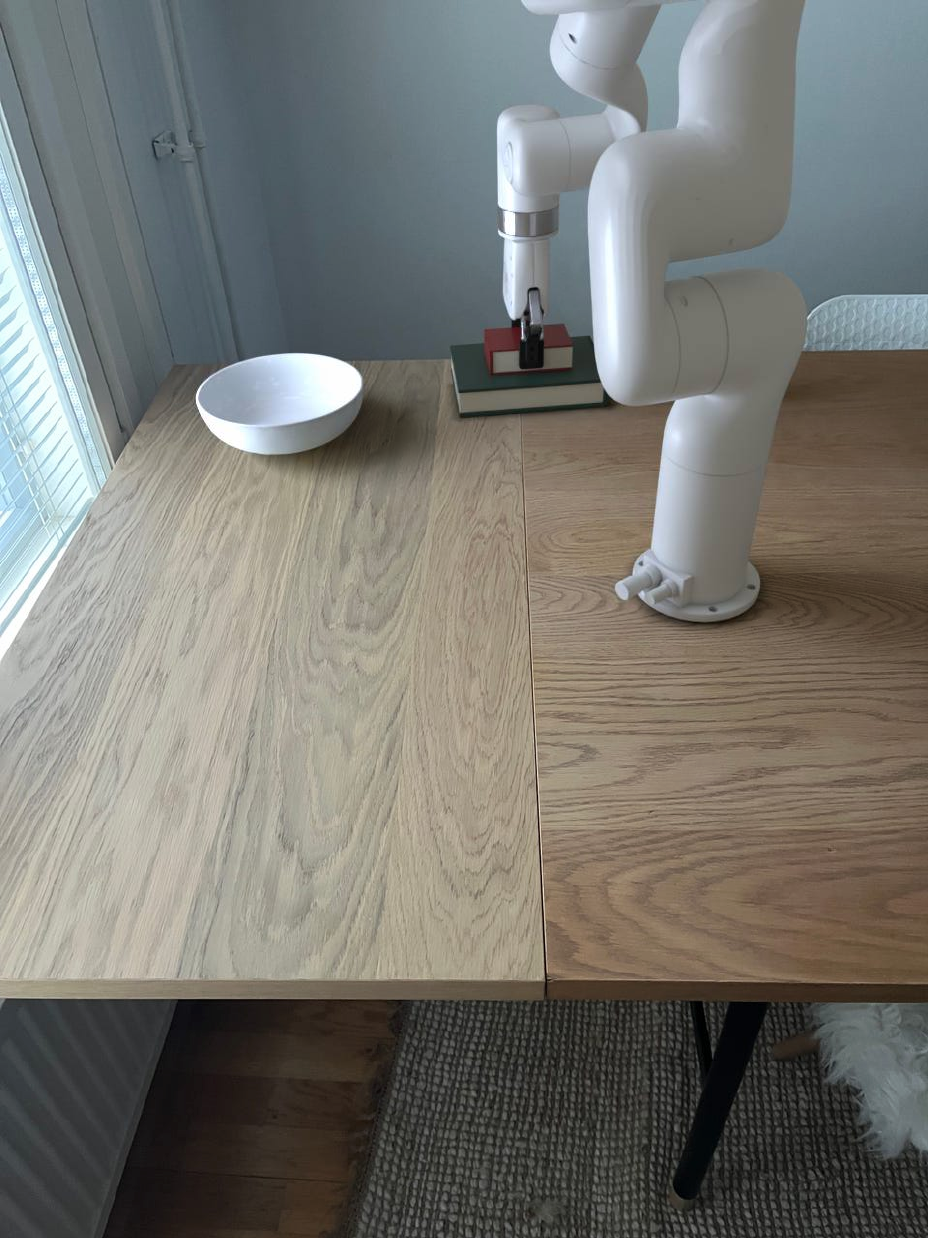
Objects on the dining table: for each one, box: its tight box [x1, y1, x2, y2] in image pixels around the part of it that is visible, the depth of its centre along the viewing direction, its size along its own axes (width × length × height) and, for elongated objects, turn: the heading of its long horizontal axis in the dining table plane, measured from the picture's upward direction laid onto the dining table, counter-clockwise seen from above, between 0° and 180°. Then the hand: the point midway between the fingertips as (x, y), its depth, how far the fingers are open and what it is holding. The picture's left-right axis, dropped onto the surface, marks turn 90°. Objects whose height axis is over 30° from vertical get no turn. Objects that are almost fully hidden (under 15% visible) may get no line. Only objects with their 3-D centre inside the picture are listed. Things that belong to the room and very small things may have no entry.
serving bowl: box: [195, 352, 365, 456], centre depth 121 cm, size 21×21×7 cm
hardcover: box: [449, 335, 610, 419], centre depth 130 cm, size 20×14×4 cm
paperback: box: [483, 323, 573, 376], centre depth 128 cm, size 11×7×4 cm, turn 95°
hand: (527, 354), depth 128 cm, fingers closed on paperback, 7 cm apart
